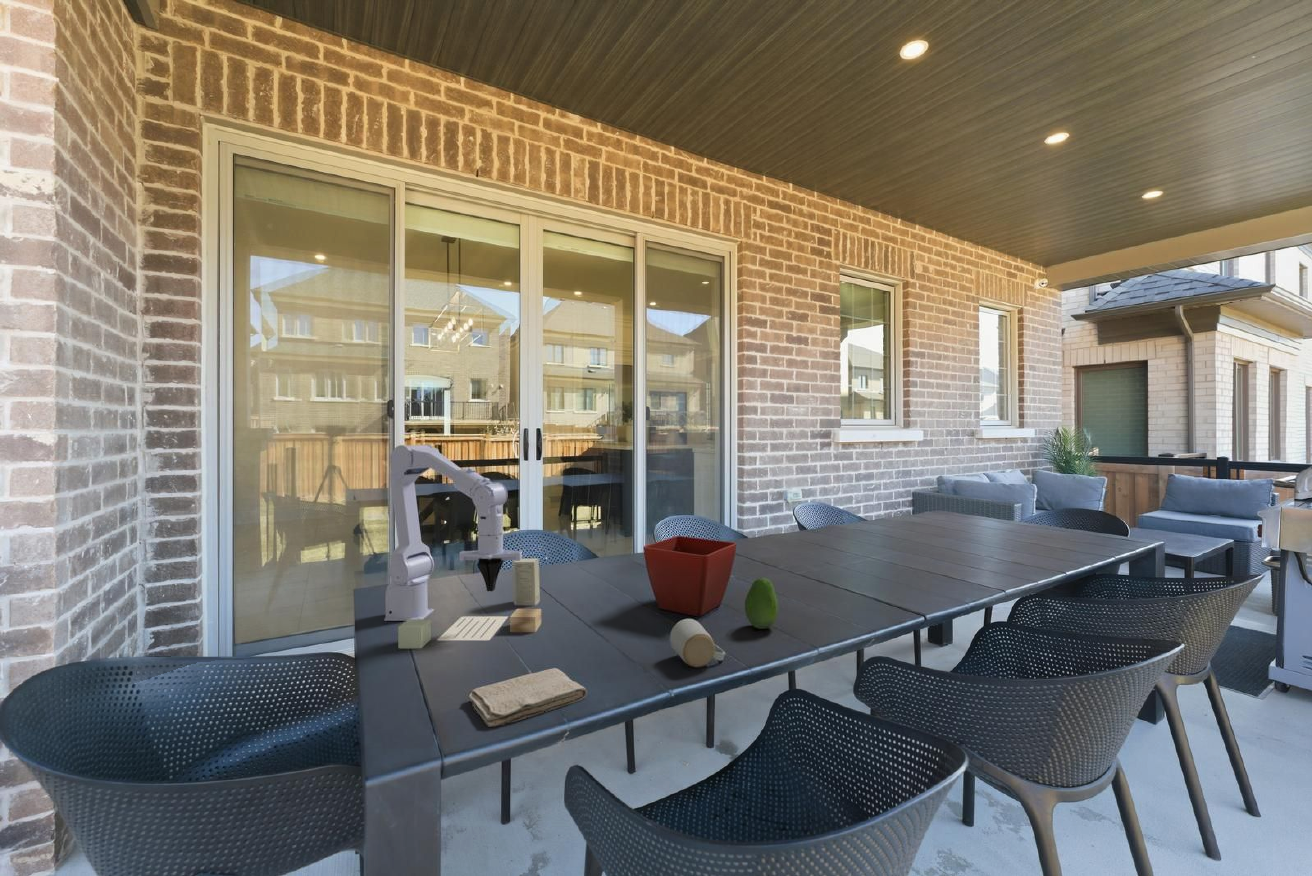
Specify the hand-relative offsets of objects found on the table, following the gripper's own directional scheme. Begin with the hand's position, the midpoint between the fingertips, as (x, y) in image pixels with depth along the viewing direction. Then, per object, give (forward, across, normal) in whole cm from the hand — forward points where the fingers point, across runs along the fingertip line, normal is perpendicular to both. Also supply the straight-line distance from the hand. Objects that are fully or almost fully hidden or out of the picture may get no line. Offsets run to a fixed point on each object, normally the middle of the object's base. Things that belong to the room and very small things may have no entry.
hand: (491, 590), depth 133 cm
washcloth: (+10, +17, -35) cm, 40 cm away
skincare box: (+10, +4, +19) cm, 22 cm away
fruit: (+9, +65, 0) cm, 66 cm away
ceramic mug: (+9, +49, -18) cm, 53 cm away
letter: (+9, -4, 0) cm, 10 cm away
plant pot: (+9, +49, +16) cm, 52 cm away
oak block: (+10, +8, 0) cm, 13 cm away
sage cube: (+9, -14, -10) cm, 20 cm away
